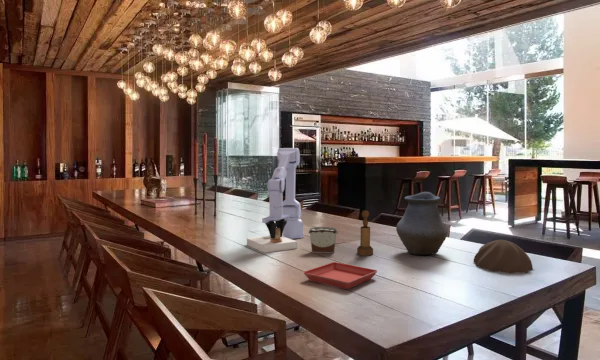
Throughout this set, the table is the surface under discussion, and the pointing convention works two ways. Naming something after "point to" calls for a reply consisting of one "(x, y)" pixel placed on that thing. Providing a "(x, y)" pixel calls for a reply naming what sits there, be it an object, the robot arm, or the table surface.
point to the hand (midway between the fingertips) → (276, 237)
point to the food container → (323, 239)
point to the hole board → (271, 244)
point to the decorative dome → (503, 257)
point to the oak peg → (276, 236)
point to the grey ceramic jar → (422, 225)
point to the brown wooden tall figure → (365, 237)
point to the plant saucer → (340, 275)
